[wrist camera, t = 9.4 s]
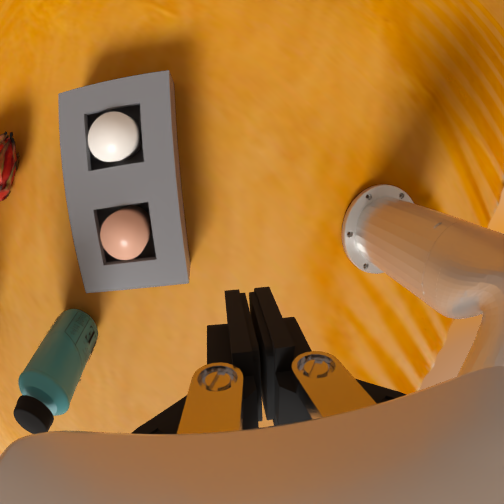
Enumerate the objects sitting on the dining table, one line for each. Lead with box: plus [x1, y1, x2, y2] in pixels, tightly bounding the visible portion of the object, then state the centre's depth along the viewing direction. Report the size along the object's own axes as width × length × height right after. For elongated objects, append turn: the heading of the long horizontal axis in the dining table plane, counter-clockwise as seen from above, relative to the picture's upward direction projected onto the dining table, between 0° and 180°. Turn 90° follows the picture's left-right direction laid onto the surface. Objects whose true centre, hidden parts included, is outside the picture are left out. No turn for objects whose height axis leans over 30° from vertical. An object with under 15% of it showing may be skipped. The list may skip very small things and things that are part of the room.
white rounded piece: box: [88, 111, 142, 162], centre depth 28 cm, size 5×5×4 cm
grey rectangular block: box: [59, 70, 190, 293], centre depth 31 cm, size 12×22×6 cm, turn 3°
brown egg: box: [100, 205, 152, 260], centre depth 31 cm, size 5×5×4 cm
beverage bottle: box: [14, 309, 98, 434], centre depth 28 cm, size 6×7×20 cm
